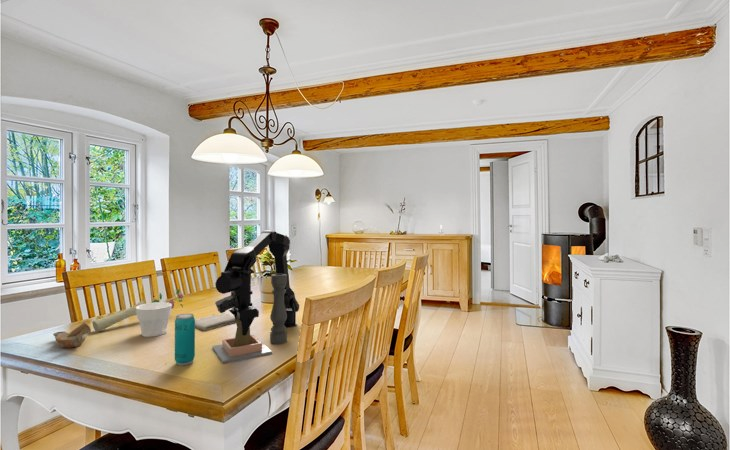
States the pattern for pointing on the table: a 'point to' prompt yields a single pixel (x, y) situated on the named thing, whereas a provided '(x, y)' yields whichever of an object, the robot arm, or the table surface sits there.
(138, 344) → the table surface
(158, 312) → the cup
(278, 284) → the candle holder
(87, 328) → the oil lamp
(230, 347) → the shaker socket
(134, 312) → the flower vase
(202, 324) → the washcloth
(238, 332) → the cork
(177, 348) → the beverage can
